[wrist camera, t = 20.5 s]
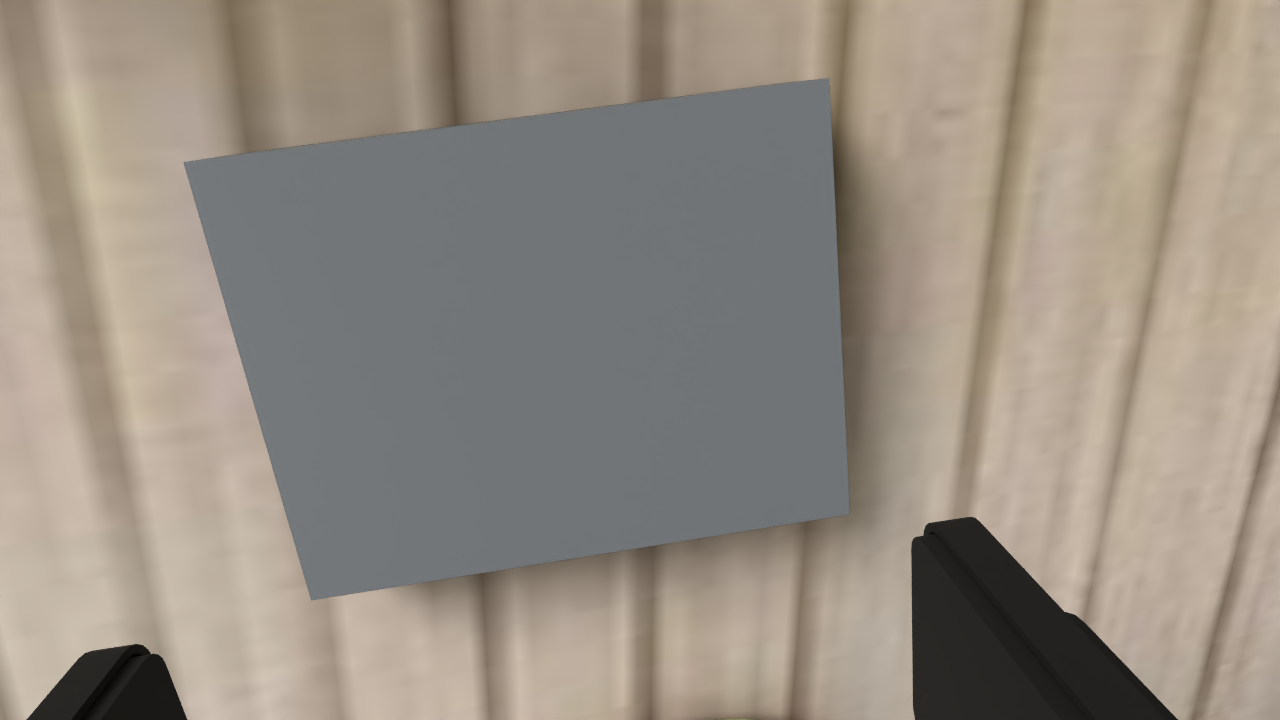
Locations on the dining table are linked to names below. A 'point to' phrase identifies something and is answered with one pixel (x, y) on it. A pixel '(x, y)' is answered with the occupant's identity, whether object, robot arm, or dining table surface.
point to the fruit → (737, 719)
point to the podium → (540, 332)
